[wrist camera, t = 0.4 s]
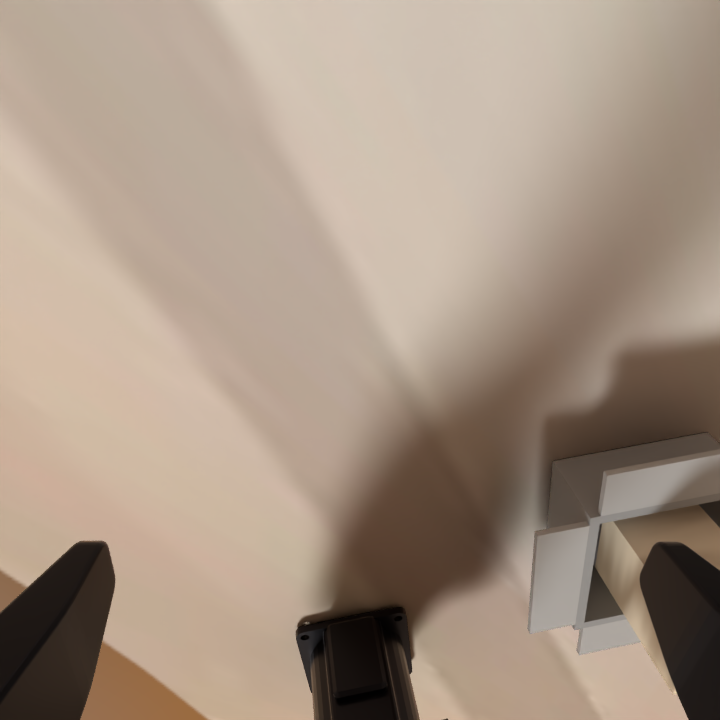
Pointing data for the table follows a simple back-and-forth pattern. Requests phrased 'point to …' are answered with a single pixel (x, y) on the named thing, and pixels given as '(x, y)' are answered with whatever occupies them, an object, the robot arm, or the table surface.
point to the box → (629, 552)
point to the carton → (606, 504)
